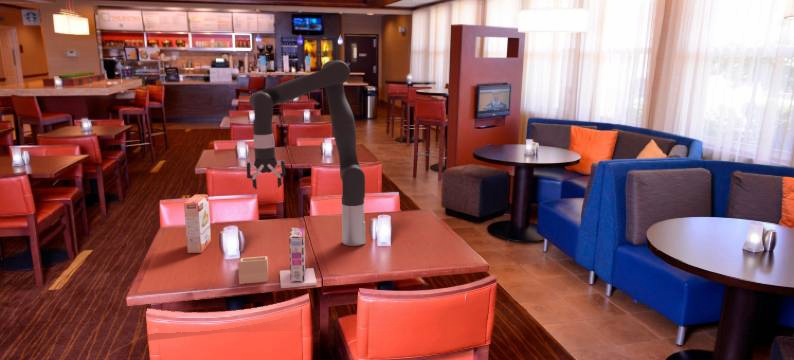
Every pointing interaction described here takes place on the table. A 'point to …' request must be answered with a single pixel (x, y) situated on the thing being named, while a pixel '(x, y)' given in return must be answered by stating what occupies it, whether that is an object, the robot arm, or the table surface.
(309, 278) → the ceramic tile
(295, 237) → the candy bar box
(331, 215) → the table surface
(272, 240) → the table surface
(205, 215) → the cracker box
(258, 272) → the kraft carton
